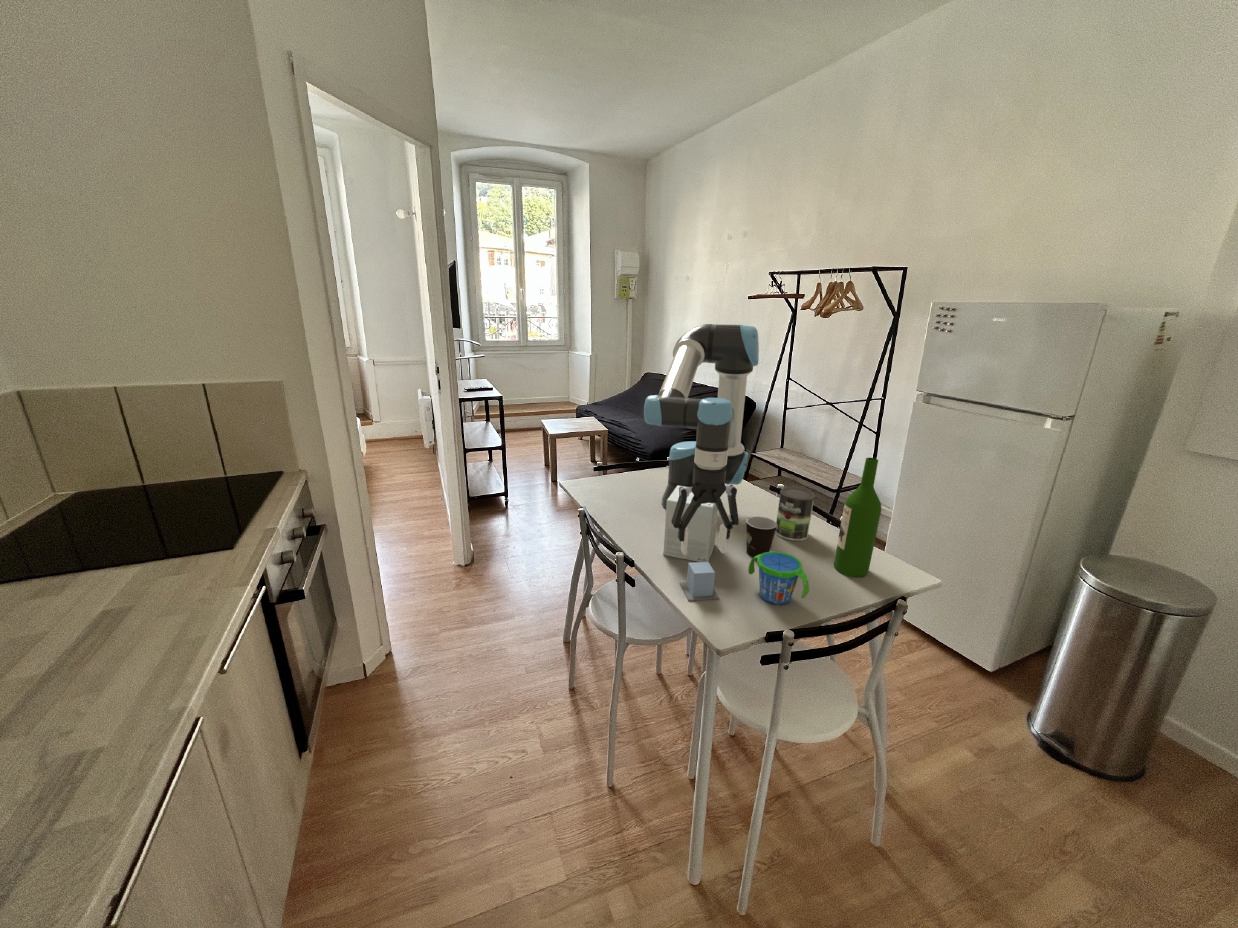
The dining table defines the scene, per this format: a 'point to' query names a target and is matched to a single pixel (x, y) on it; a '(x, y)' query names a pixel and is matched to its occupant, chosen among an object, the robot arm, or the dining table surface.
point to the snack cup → (778, 576)
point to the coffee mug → (759, 535)
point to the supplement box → (691, 530)
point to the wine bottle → (859, 526)
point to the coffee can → (794, 513)
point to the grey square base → (690, 598)
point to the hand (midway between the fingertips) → (702, 551)
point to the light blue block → (700, 579)
